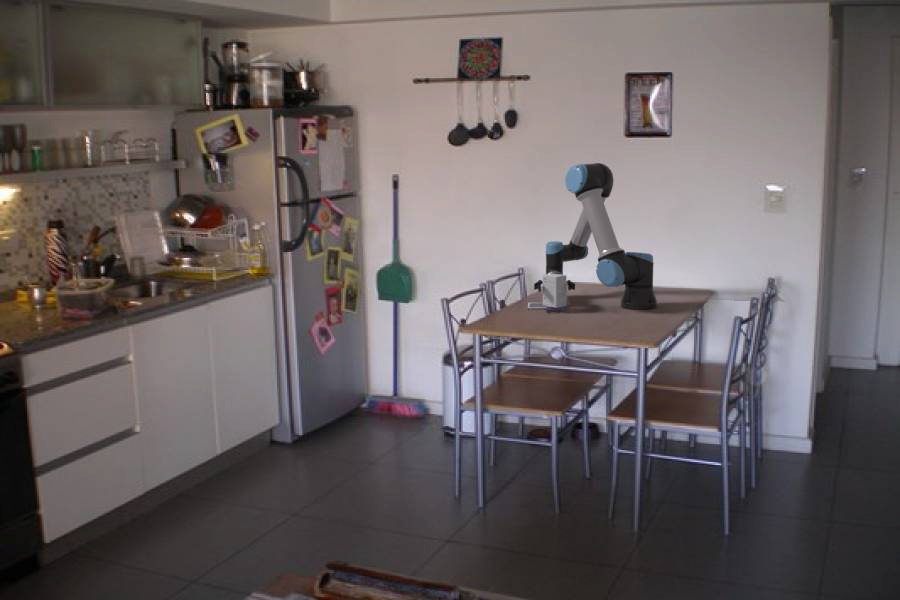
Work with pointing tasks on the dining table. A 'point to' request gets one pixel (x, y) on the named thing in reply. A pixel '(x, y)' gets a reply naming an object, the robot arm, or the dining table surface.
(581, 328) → the dining table surface
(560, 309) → the ink pad
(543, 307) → the print card
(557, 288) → the small box
